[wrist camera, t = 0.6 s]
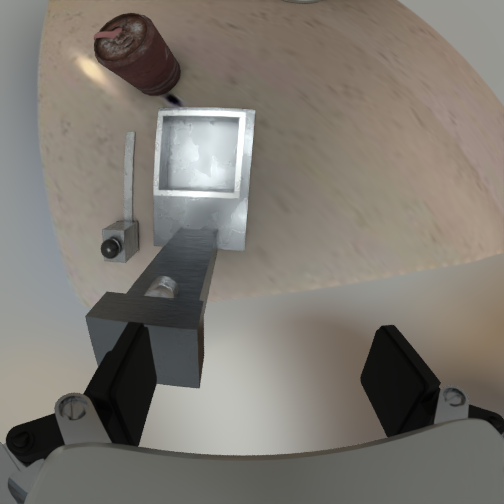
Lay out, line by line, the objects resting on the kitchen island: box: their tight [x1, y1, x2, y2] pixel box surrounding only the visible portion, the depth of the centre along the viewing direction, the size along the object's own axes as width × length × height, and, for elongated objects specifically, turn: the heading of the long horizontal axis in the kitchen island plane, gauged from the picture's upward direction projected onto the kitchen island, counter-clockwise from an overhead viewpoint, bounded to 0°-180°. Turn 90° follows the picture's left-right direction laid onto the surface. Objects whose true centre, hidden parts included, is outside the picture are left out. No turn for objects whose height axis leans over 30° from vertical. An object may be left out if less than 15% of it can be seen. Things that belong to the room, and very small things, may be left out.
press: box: [86, 107, 255, 388], centre depth 23 cm, size 19×17×25 cm
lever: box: [101, 221, 138, 263], centre depth 32 cm, size 4×3×7 cm
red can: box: [94, 13, 180, 95], centre depth 23 cm, size 6×6×14 cm
